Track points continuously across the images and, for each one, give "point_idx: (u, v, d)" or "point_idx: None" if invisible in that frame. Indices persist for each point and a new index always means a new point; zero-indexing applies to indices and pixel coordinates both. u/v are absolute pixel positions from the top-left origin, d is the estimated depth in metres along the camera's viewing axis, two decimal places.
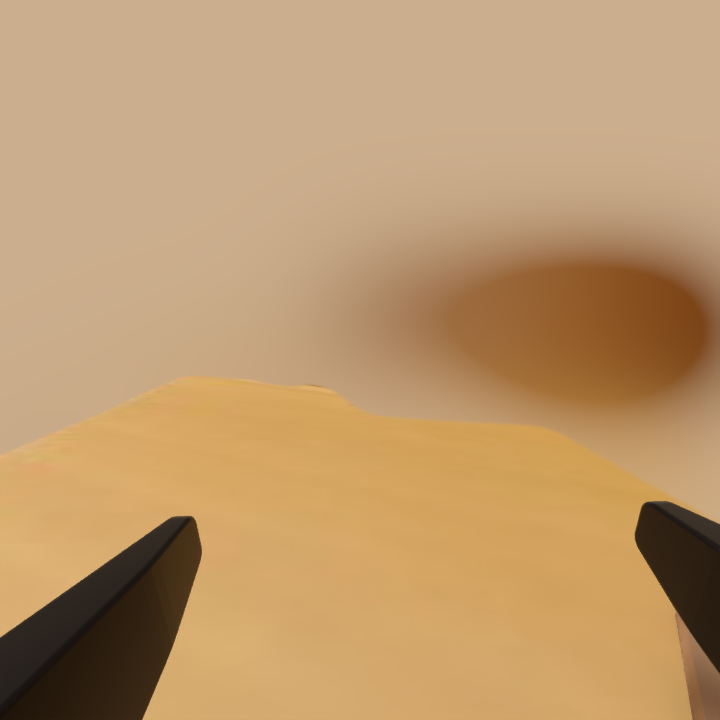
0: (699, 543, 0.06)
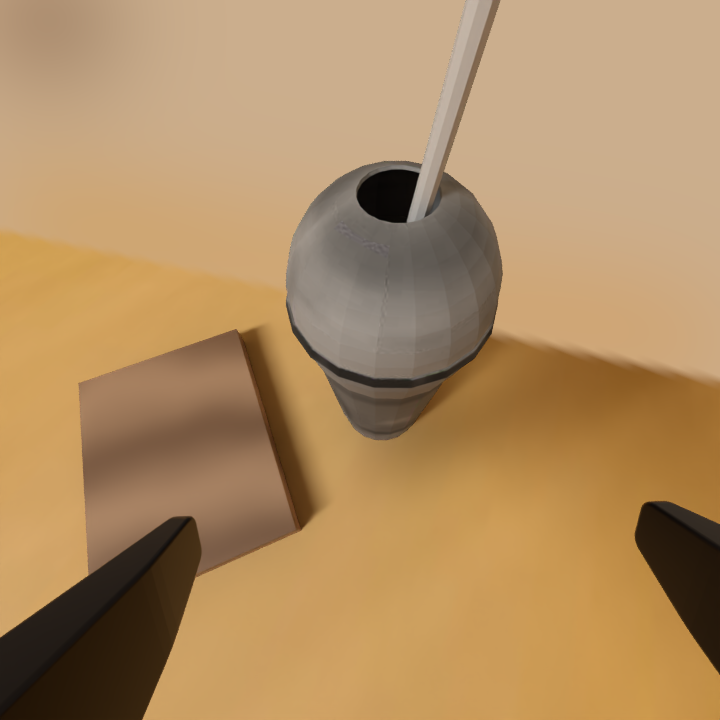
0: (699, 543, 0.06)
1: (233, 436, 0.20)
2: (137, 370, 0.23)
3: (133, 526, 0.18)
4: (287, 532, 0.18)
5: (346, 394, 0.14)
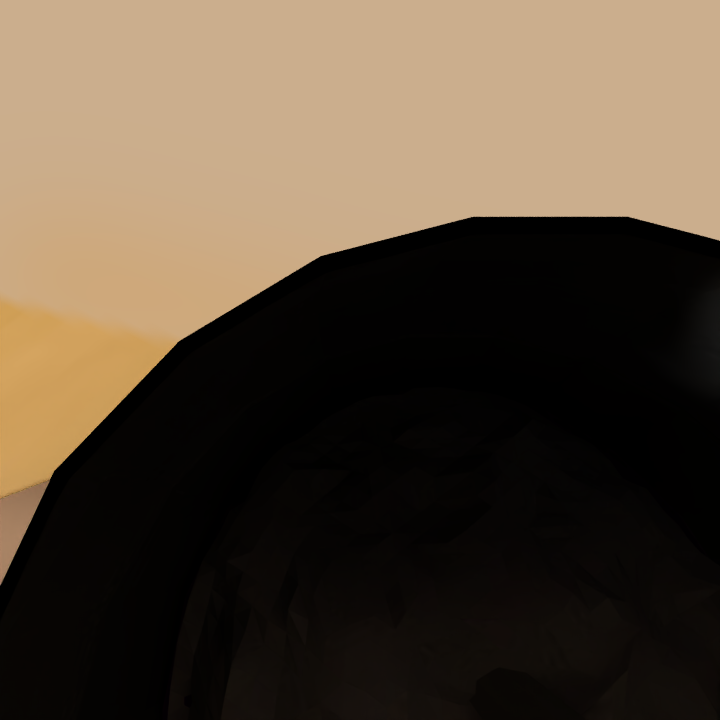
0: None
1: None
2: None
3: None
4: None
5: None
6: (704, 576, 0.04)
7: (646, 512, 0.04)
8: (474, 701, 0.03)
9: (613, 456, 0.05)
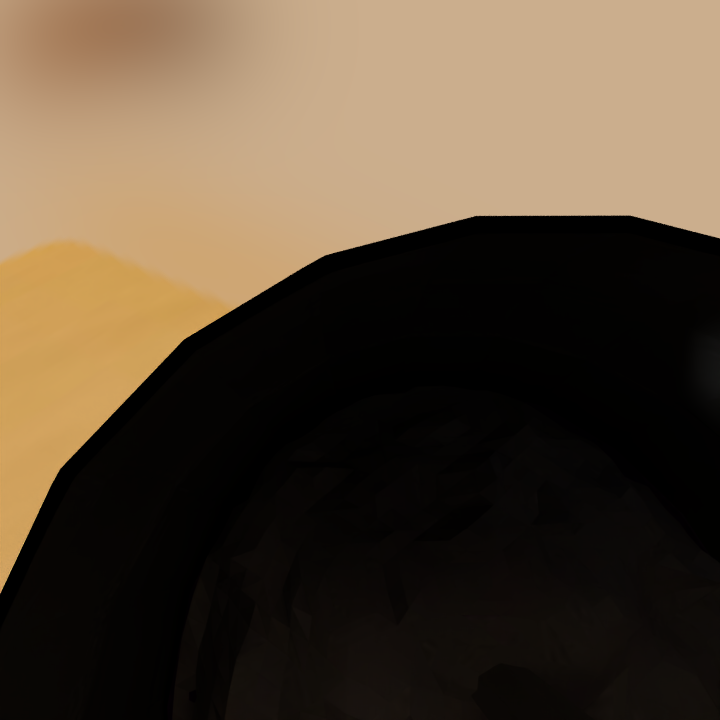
0: None
1: None
2: None
3: None
4: None
5: None
6: (705, 573, 0.04)
7: (647, 510, 0.04)
8: (476, 696, 0.03)
9: (614, 454, 0.05)
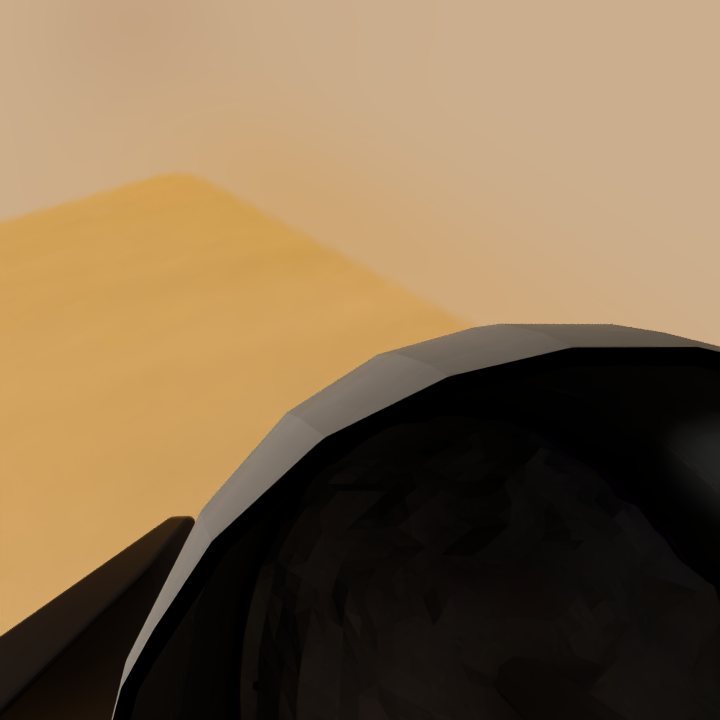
0: None
1: None
2: None
3: None
4: None
5: None
6: (683, 582, 0.04)
7: (636, 528, 0.05)
8: (496, 683, 0.04)
9: (609, 478, 0.06)
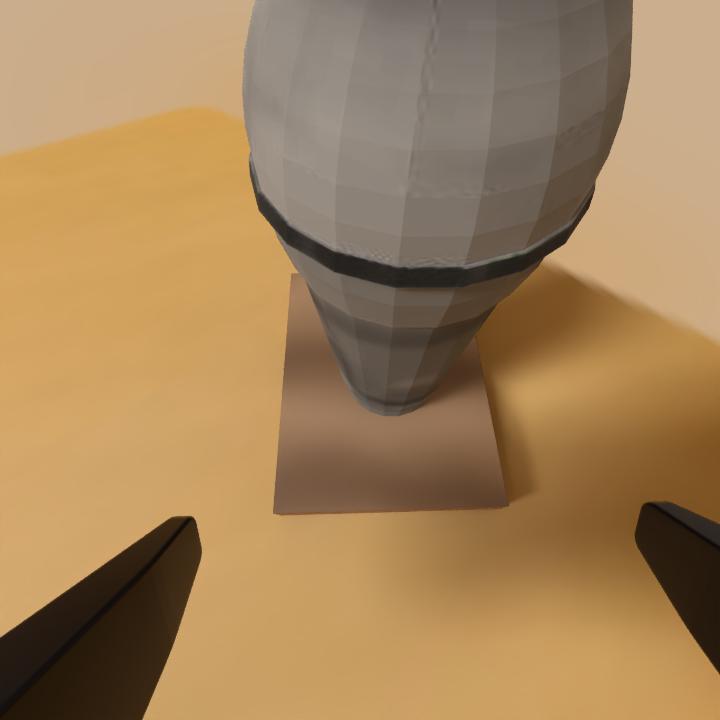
0: (699, 543, 0.06)
1: (446, 379, 0.18)
2: None
3: (327, 434, 0.17)
4: (497, 505, 0.15)
5: (347, 334, 0.10)
6: None
7: None
8: None
9: None
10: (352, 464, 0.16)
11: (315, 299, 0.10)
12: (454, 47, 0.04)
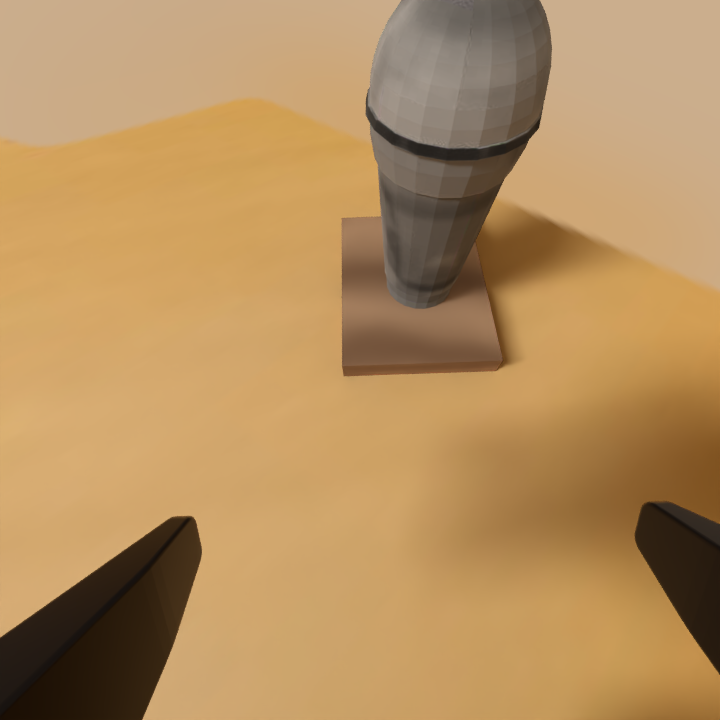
0: (699, 543, 0.06)
1: (458, 285, 0.25)
2: None
3: (376, 319, 0.24)
4: (495, 360, 0.22)
5: (407, 215, 0.17)
6: None
7: None
8: None
9: None
10: (394, 337, 0.23)
11: (388, 195, 0.17)
12: (477, 49, 0.11)
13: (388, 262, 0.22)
